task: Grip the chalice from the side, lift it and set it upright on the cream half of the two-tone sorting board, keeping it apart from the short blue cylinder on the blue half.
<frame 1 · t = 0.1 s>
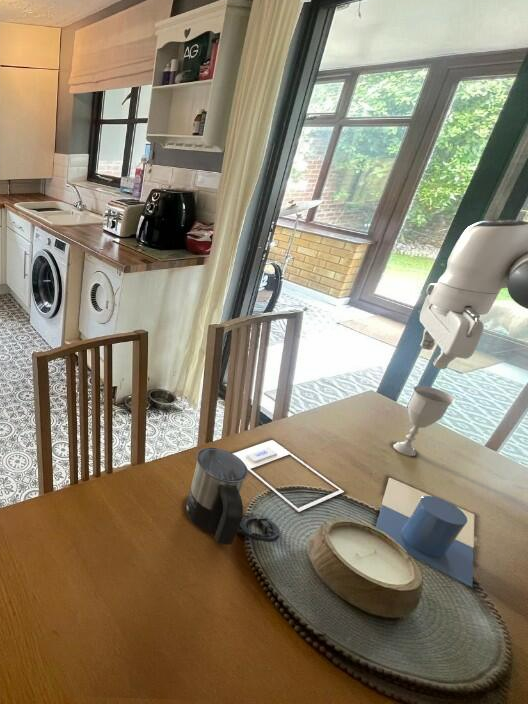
hand: (431, 357, 90), 29 cm above the table, tool pointing down, fingers open, 8 cm apart
chalice: (402, 453, 104), on the table
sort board: (423, 528, 84), on the table
short blue cylinder: (422, 541, 80), point 1 cm above the table, touching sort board
milk frother: (227, 524, 85), on the table
photo frame: (282, 475, 97), on the table
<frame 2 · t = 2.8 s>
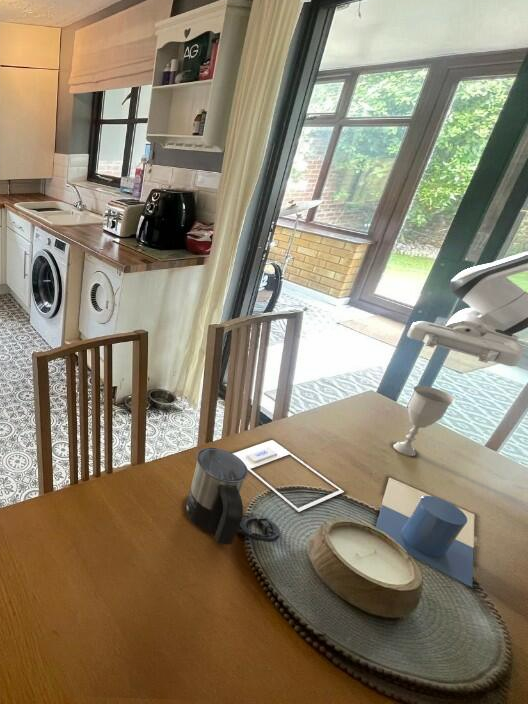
hand: (456, 351, 101), 25 cm above the table, tool horizontal, fingers open, 8 cm apart
nothing on the table moved.
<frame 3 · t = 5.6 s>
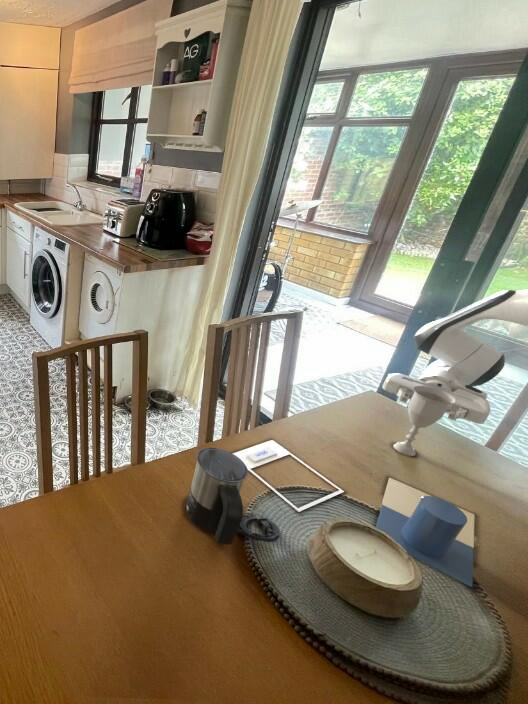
hand: (427, 407, 105), 10 cm above the table, tool horizontal, fingers open, 8 cm apart
nothing on the table moved.
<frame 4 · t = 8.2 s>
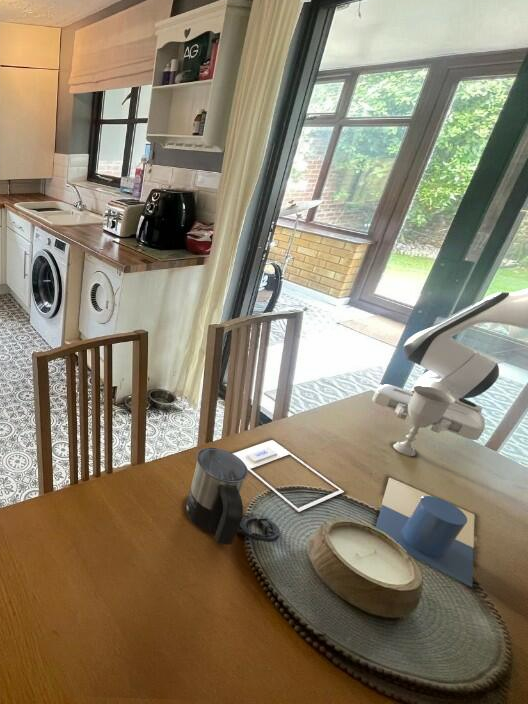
hand: (418, 422, 99), 10 cm above the table, tool horizontal, fingers closed on chalice, 5 cm apart
chalice: (402, 453, 104), on the table, touching gripper
everything else where it was.
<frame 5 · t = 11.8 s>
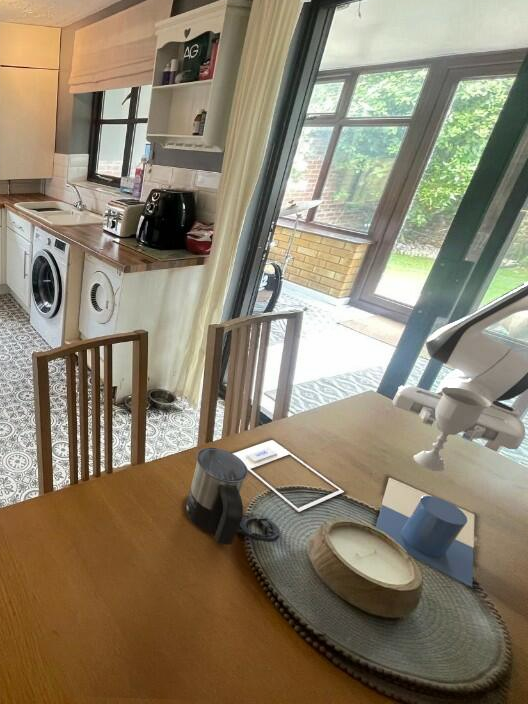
hand: (448, 429, 87), 17 cm above the table, tool horizontal, fingers closed on chalice, 5 cm apart
chalice: (428, 463, 92), point 7 cm above the table, touching gripper
everything else where it was.
when the fingers open (11 cm above the table, at t = 15.4 s): chalice stays where it is, resting on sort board.
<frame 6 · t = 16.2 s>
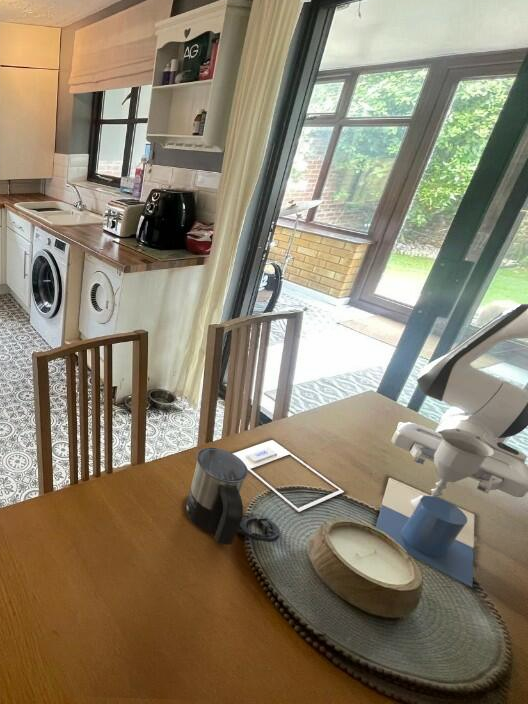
hand: (450, 474, 82), 12 cm above the table, tool horizontal, fingers open, 8 cm apart
chalice: (426, 509, 87), point 1 cm above the table, touching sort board
everything else where it was.
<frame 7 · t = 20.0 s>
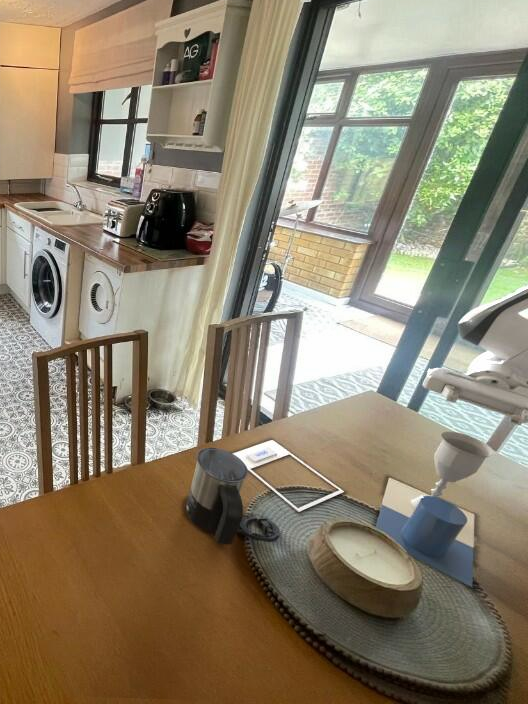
hand: (483, 409, 85), 22 cm above the table, tool horizontal, fingers open, 8 cm apart
nothing on the table moved.
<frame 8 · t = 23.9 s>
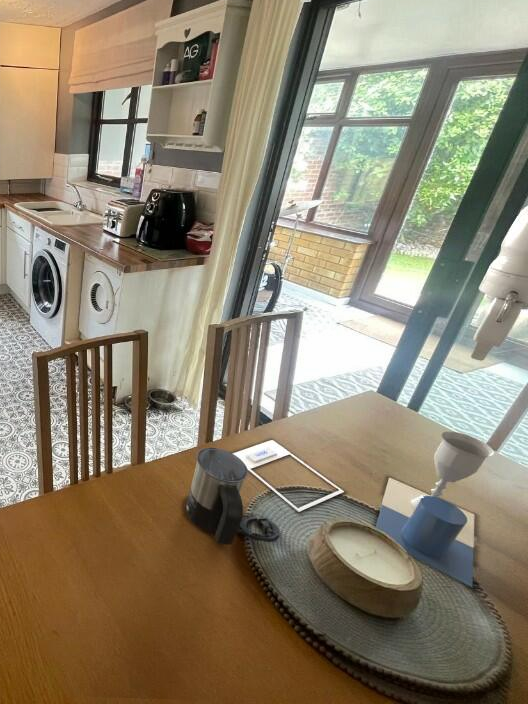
hand: (480, 351, 82), 34 cm above the table, tool pointing down, fingers open, 8 cm apart
nothing on the table moved.
at the end: chalice inside the target area on the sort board (0.7 cm from its centre), point 0.8 cm above the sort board's base; chalice tilted 0°; short blue cylinder moved 0.0 cm from its start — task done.
